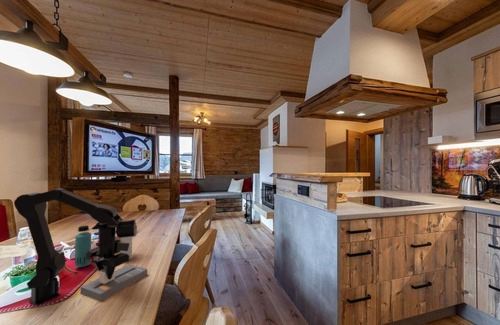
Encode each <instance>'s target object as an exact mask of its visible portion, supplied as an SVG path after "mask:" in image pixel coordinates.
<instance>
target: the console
mask: <svg viewBox="0 0 500 325" xmlns="http://www.w3.org/2000/svg"><path fill="white" fill-rule="evenodd" d="M147 275H148V268H144V267H141V266H138V265H132V264H127V265H125V266H123V267H121V268H118V269H115V279H113V280H111V281H109V282H108V283H106V284H103V283H100V282H99V278H96V279H95V280H92V281H90V282H88V283H86V284H84V285H82V286H80V294H81V295H83V296H86V297H89V298H91V299H94V300H96V301H98V302H101V301H103V300H104V299H107V298H108V297H110V296H112V295H115V293H118V292H119V291H120V290H121V291H122V289H124V288H126V287H128V286H130V285H131V284H133V283H135V282H137V281H139V280H141V279H142V278H144V277H146V276H147Z"/></svg>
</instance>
